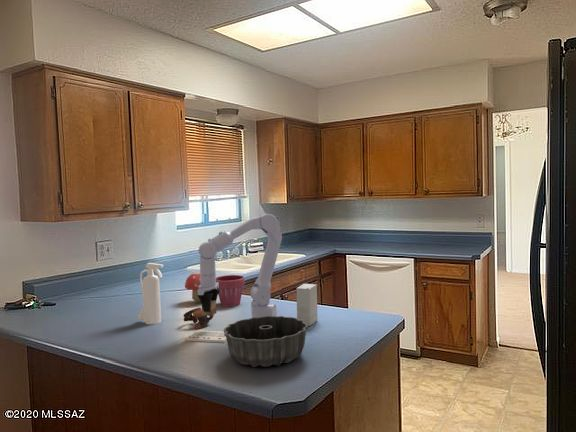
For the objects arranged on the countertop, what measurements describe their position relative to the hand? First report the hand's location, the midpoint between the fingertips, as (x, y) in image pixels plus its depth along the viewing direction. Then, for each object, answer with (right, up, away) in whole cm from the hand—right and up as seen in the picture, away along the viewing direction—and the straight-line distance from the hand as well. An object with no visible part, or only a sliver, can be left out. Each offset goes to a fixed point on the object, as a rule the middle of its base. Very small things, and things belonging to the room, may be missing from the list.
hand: (209, 310), depth 169 cm
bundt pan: (+23, -9, -28) cm, 38 cm away
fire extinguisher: (-27, -9, +18) cm, 34 cm away
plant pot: (+2, -7, +44) cm, 45 cm away
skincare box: (+38, -7, +8) cm, 39 cm away
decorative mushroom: (-14, -7, +50) cm, 53 cm away
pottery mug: (-6, -9, +10) cm, 15 cm away
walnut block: (0, -2, 0) cm, 2 cm away
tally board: (+1, -9, -6) cm, 10 cm away
